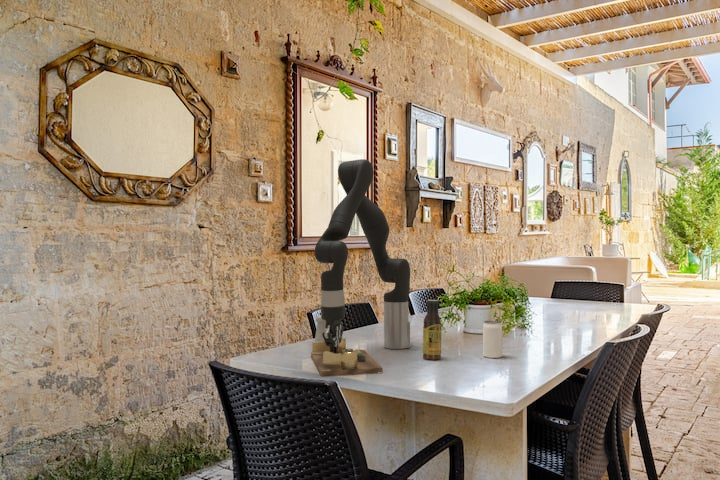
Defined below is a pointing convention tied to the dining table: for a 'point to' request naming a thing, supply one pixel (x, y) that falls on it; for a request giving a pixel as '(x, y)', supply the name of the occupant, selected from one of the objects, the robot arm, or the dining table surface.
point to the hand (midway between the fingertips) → (334, 358)
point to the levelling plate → (363, 366)
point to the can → (492, 339)
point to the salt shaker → (320, 329)
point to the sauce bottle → (432, 332)
